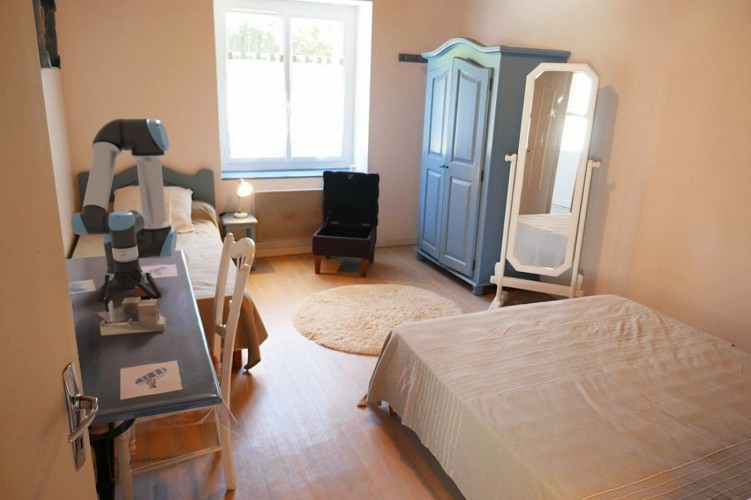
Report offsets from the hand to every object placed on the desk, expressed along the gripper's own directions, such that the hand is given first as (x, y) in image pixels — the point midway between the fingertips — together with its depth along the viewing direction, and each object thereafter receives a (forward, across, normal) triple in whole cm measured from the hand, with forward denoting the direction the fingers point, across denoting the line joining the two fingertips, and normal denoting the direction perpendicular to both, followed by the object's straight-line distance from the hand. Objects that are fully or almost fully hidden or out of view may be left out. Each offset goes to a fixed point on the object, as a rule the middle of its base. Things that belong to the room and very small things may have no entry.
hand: (133, 318), depth 177 cm
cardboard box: (0, 0, 0) cm, 0 cm away
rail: (0, +2, -10) cm, 10 cm away
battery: (0, +3, +9) cm, 9 cm away
